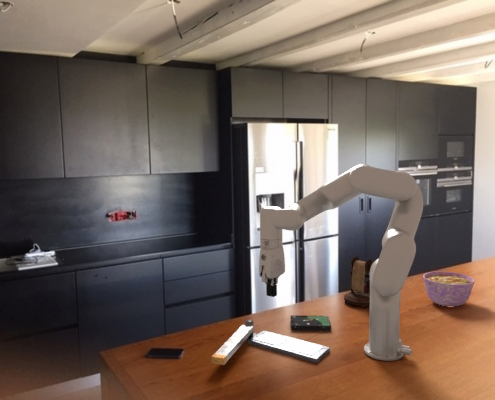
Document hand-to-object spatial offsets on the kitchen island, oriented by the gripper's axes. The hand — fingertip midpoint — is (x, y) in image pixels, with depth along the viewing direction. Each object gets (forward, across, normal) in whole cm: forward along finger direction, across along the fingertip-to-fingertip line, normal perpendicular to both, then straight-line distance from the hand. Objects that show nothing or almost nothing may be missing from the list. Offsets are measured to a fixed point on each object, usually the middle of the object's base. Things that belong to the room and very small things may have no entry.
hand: (271, 295), depth 161 cm
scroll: (+17, +56, -10) cm, 60 cm away
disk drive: (+18, +21, -4) cm, 28 cm away
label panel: (+17, 0, -4) cm, 18 cm away
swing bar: (+16, -13, +6) cm, 21 cm away
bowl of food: (+17, +74, -42) cm, 87 cm away
